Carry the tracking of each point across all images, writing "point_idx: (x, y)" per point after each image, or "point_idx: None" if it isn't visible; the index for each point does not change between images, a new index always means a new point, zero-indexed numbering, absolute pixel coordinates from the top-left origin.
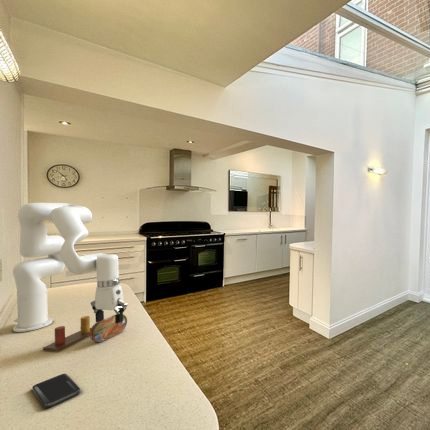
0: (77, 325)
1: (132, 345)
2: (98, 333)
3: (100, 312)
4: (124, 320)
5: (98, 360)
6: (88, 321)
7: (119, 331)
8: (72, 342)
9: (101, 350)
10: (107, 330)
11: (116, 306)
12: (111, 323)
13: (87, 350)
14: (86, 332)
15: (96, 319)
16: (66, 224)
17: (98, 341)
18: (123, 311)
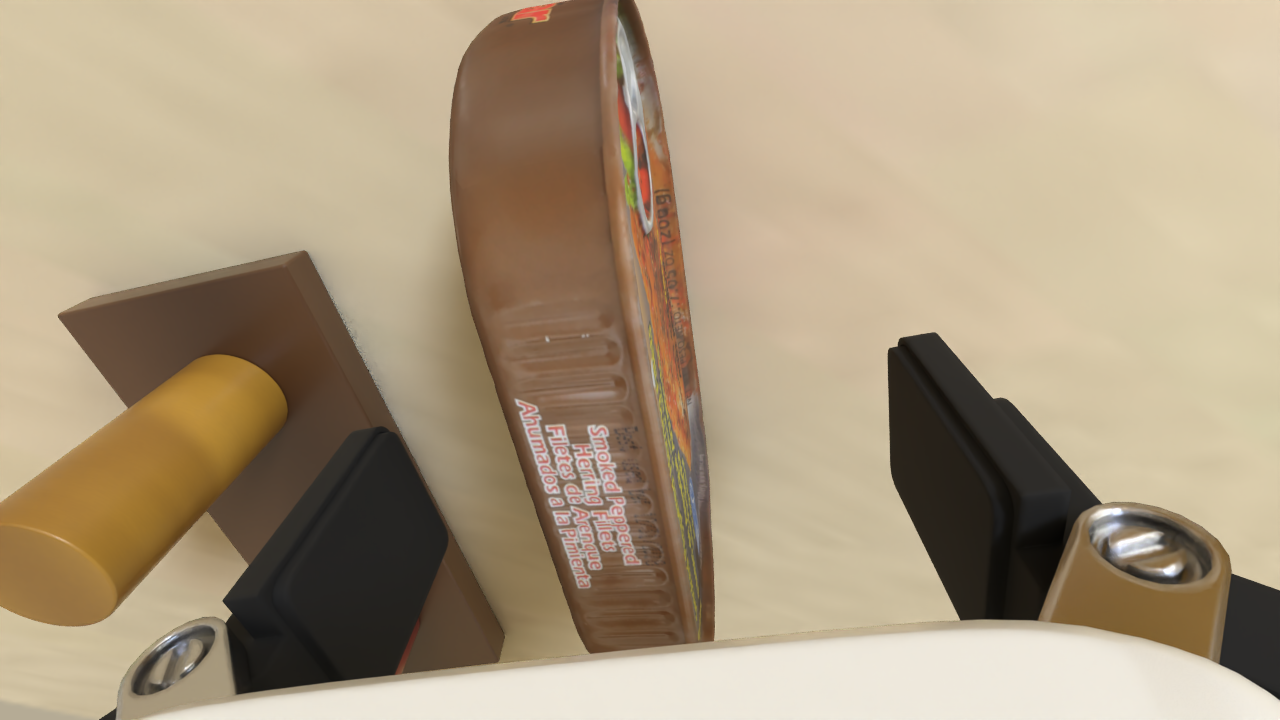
0: None
1: (1205, 342)
2: (692, 533)
3: (334, 661)
4: (620, 59)
5: None
6: (159, 495)
7: (655, 168)
8: (452, 565)
9: (894, 516)
10: (674, 408)
11: (727, 666)
12: (659, 393)
13: (743, 554)
14: (286, 411)
15: (422, 596)
16: None
17: (707, 471)
18: (1230, 585)
